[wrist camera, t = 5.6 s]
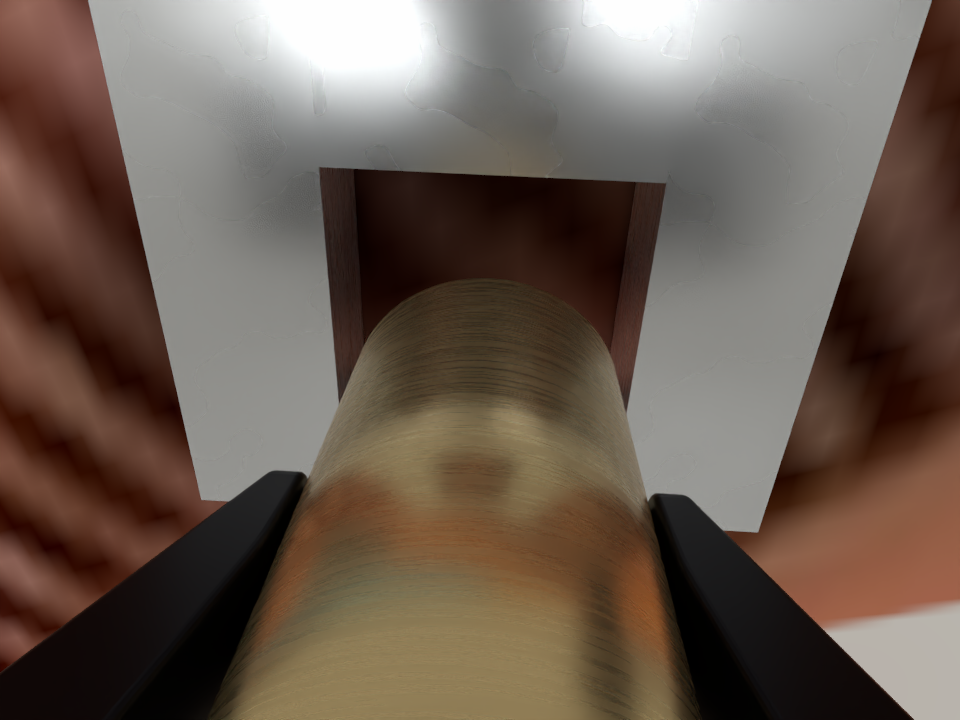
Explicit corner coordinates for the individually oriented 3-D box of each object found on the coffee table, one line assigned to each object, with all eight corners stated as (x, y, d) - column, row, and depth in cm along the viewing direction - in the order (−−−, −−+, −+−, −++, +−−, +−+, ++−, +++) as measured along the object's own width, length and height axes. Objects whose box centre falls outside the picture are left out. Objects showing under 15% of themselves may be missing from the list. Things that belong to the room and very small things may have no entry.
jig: (1076, -821, 7) (1309, -1150, 5) (725, 459, 16) (757, 532, 14) (20, -834, 8) (-173, -1151, 6) (242, 432, 17) (201, 499, 14)
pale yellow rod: (637, 286, 9) (1012, 1261, 2) (599, 506, 11) (736, 1384, 4) (346, 270, 9) (-173, 1155, 2) (361, 492, 11) (109, 1326, 4)
